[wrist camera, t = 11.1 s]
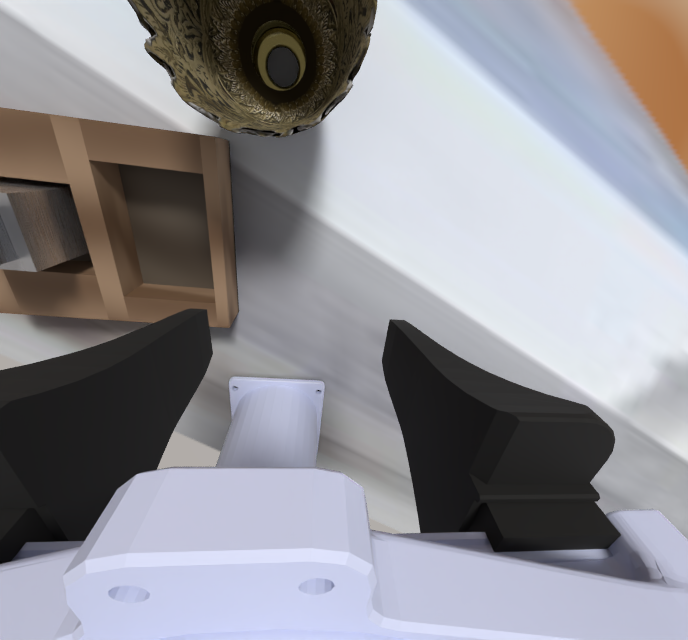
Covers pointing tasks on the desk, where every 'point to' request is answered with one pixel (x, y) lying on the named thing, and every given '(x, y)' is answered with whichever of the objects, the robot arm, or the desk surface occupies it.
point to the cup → (258, 57)
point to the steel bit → (38, 225)
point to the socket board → (127, 220)
